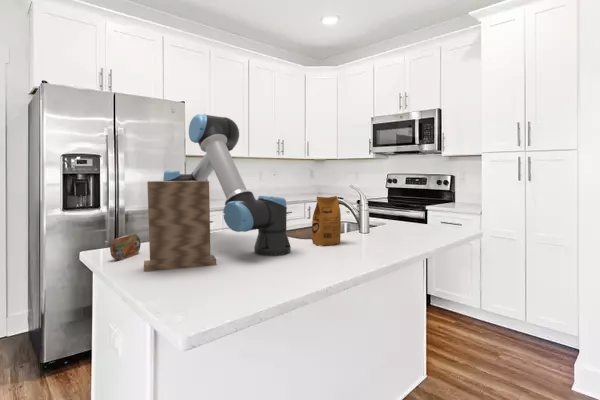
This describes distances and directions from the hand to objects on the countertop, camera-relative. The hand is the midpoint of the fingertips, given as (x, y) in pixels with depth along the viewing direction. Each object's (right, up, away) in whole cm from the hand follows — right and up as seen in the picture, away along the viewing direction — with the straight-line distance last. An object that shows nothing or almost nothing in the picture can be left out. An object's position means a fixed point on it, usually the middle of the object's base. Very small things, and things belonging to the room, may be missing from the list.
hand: (176, 210), depth 148 cm
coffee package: (+62, -16, +21) cm, 68 cm away
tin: (-18, -18, -5) cm, 26 cm away
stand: (+8, -19, -18) cm, 27 cm away
